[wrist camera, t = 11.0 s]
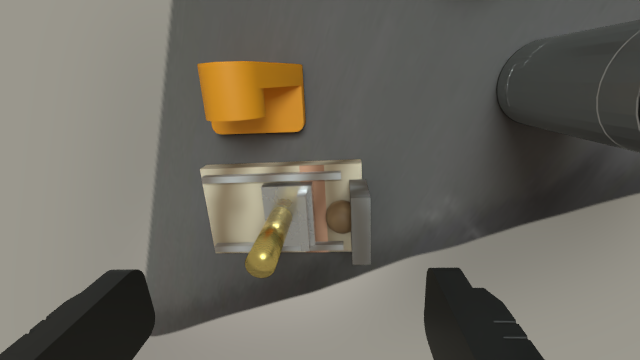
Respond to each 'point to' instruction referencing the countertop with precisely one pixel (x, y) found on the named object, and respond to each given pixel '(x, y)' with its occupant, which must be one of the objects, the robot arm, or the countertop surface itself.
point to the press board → (247, 179)
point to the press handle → (282, 225)
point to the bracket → (253, 96)
